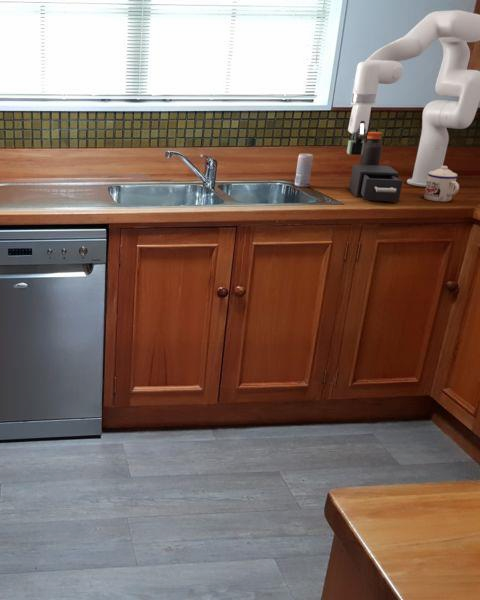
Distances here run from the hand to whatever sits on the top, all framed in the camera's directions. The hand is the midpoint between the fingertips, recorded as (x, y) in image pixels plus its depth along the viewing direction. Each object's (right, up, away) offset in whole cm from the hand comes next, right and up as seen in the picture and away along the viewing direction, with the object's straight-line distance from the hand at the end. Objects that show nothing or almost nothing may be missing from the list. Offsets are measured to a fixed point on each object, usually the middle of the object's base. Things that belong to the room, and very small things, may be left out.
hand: (354, 152), depth 217 cm
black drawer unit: (+7, -17, -3) cm, 18 cm away
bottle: (+14, -8, +21) cm, 27 cm away
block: (0, 0, 0) cm, 0 cm away
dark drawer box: (+9, -13, +7) cm, 18 cm away
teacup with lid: (+29, -18, -2) cm, 34 cm away
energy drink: (-12, -8, +20) cm, 24 cm away
